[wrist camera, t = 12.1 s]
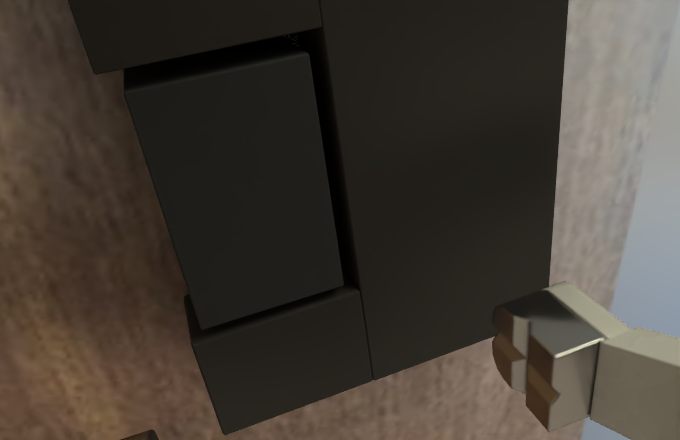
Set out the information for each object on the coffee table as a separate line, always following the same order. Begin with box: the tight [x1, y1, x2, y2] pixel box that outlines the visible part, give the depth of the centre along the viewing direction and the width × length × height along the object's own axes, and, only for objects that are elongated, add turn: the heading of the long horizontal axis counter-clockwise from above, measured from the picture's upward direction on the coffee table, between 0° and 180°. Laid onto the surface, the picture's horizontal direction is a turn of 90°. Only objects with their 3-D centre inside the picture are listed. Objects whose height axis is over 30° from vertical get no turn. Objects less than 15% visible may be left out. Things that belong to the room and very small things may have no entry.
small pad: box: [124, 36, 344, 330], centre depth 18 cm, size 8×5×3 cm, turn 8°
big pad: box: [68, 0, 568, 435], centre depth 19 cm, size 18×14×3 cm
